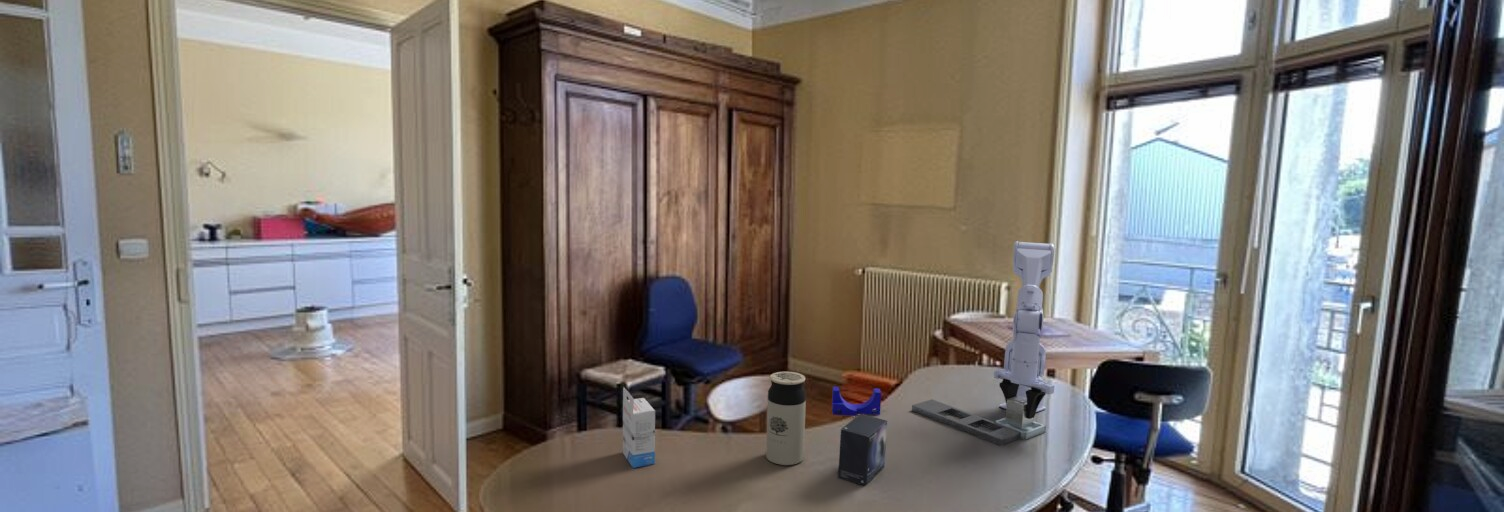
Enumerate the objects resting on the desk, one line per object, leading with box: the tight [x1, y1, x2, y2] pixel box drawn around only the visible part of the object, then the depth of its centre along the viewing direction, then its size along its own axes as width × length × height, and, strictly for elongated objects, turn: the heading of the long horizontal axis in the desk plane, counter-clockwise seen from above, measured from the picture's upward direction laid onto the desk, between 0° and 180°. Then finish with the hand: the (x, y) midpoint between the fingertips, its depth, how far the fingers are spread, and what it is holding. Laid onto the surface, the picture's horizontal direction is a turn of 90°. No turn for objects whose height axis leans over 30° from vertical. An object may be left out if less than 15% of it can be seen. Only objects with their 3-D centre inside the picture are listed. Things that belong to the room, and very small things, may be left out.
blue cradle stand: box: [831, 386, 882, 417], centre depth 169 cm, size 12×4×6 cm, turn 86°
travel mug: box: [765, 371, 807, 466], centre depth 141 cm, size 8×8×18 cm
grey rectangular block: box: [1004, 396, 1034, 429], centre depth 160 cm, size 4×4×6 cm
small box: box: [837, 414, 888, 486], centre depth 135 cm, size 11×6×10 cm, turn 148°
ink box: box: [622, 387, 656, 469], centre depth 139 cm, size 8×5×15 cm, turn 26°
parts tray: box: [993, 417, 1047, 441], centre depth 160 cm, size 8×8×2 cm
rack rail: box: [911, 399, 1022, 446], centre depth 164 cm, size 8×26×1 cm, turn 36°
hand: (1020, 414), depth 160 cm, fingers closed on grey rectangular block, 4 cm apart
